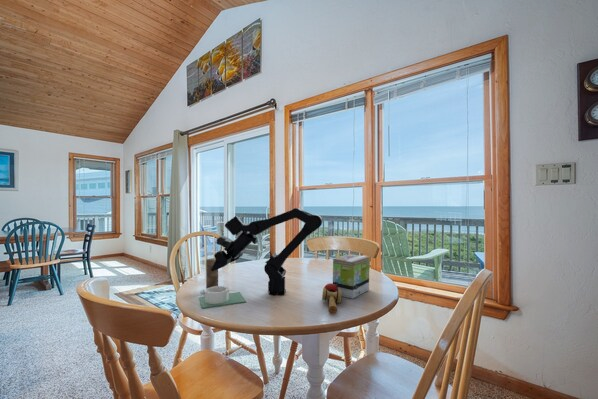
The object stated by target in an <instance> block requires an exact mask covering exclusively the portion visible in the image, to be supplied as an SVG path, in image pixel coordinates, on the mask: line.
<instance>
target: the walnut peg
mask: <svg viewBox="0 0 598 399" xmlns="http://www.w3.org/2000/svg"><path fill="white" fill-rule="evenodd" d="M205 260H206V261H205V281H206V282H205V290H206V289H207V288H210V287H215V286H219V269H217V270H215V271H211V268H212V267H213V265H214V263H215V261H216V259H215V257H214V258H213V257H212V258H211V257H210V258H207V259H205Z"/></svg>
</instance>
